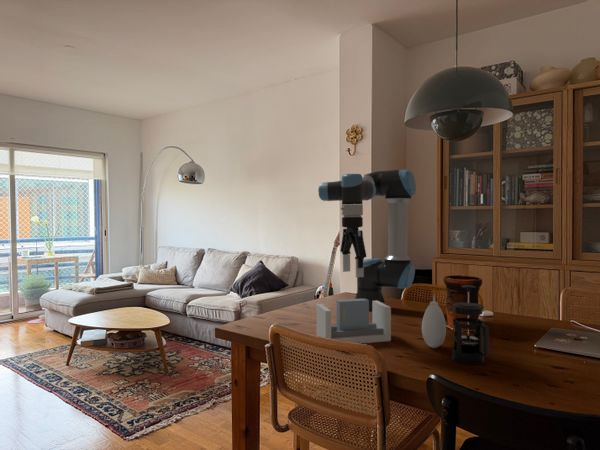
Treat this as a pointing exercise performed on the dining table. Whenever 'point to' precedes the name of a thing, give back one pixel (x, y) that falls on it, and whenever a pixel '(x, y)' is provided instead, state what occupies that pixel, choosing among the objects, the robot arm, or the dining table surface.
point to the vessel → (460, 296)
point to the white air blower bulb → (434, 325)
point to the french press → (468, 351)
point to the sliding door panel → (352, 314)
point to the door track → (376, 315)
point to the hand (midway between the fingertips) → (352, 274)
